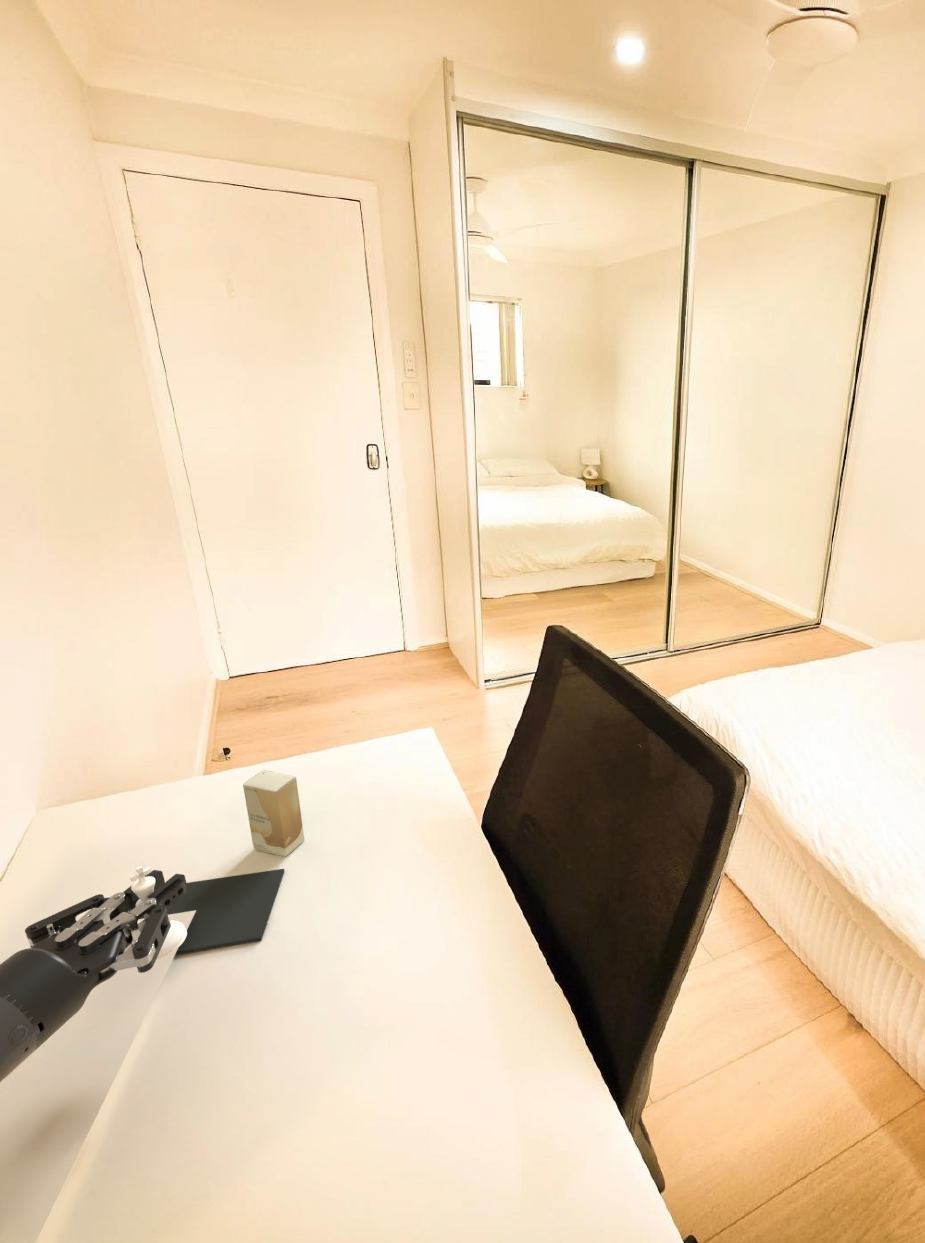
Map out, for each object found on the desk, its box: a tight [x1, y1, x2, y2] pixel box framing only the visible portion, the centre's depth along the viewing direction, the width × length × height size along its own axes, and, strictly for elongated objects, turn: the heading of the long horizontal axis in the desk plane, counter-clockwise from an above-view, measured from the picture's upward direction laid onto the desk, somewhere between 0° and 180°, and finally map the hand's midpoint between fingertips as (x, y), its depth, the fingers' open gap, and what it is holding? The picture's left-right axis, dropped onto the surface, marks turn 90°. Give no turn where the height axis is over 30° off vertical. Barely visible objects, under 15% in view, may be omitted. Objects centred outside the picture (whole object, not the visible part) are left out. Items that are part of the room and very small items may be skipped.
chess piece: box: [129, 865, 187, 961], centre depth 64 cm, size 5×5×10 cm
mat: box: [129, 868, 285, 956], centre depth 83 cm, size 20×13×1 cm, turn 105°
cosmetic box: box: [242, 769, 305, 857], centre depth 95 cm, size 6×4×12 cm
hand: (171, 878), depth 66 cm, fingers closed on chess piece
